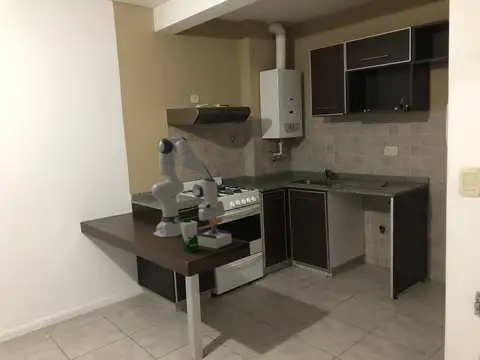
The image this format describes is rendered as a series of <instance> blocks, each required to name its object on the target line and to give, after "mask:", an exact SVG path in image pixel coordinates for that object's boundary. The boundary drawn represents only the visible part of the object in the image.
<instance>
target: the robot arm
mask: <svg viewBox="0 0 480 360" xmlns="http://www.w3.org/2000/svg"><path fill="white" fill-rule="evenodd" d="M157 148H158V151H159V153H158V169H159V174H160V175H161V176H163V177H164V179H165V181H162V182H161V181H160V182H157V183H155V184H153V185H152V187H151V194H152V196H153V197H154V198H156V199H157V200H158V201H159V203H160V206H161V211H162V216H161V221H160V222H159V223H158V224H157V226H156V231H155V232H153V235H155V236H156V237H160V238H171V237H172V238H173V237H177V236H180V235H182V227H181V221H180V214H179V208H178V204H177V202H176V201H174V200H172V197H173V196H177V195H180V194H181V193H183V192H184V189H185V185H184V183H183V181H182V180H181V179H179V177H178V175H177V173H176V160H175V155H176V156H177V159H178V161H179V163H180V165H181V166H182V167H183V168H185V169H189V170H192V171H196V172H197V173H198V174H200V177H201V178H202V179H203V180H202V181H200V182H198V183H195V184H194V185H193V186H192V194H193V197H195V198H197V199H201V198H202V199H203V201H202V202H201V203H200V204H198V209H199V210H198V219H199V221H202V222H205V221H208V222H210V220H214V219H217V218H220V217H222V216H225V213H226V212H225V206H224V202H223V201H221V200H220V201H219V197H218V192H219V191H220V189H219V188H220V187H219V184H218V183H217V181H216V179H214V178H213V176H212V175H211V173H210V171H209V169H208V168H207V166H206V165H205V163H204V162H203V161H202V160H200V159H199V158H198V157H197V154H195V151H194V150H193V147H192V145H191V144H190V143H189V142H188V139H187V138H186V137H183V136H173V137H168V138H161V139H159V141H158V143H157Z"/></svg>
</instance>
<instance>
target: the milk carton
mask: <svg viewBox="0 0 480 360" xmlns="http://www.w3.org/2000/svg"><path fill="white" fill-rule="evenodd" d="M180 223H181V228H182V234H181V235H182V245H183V251H184V252H186V253H189V254H191V253H195V252H197V251H200V245H198V235H197V233H198V222H197V221H195V220H192V219H191V218H190V217H184V218H183V221H182V222H181V221H180Z"/></svg>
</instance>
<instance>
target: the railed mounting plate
mask: <svg viewBox="0 0 480 360" xmlns="http://www.w3.org/2000/svg"><path fill="white" fill-rule="evenodd" d="M210 230H212V228H211V229H210ZM218 233H224V234H231V233H230V231H228V230H224V229H222V230H221V229H218ZM197 235H198V236H202V237H208V238H213V239H216V236H213V235H207V234H202V233H201V232H197Z"/></svg>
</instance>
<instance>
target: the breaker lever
mask: <svg viewBox="0 0 480 360" xmlns="http://www.w3.org/2000/svg"><path fill="white" fill-rule="evenodd" d="M216 218H217V219H214V220H213V219H212V220H210V221H209V225H210V226H212V228H211V229H212V235H213V234H215V233H216V228H217V227H218V224H220V223H223V222H224V218H223V217H222V216H219V217H216Z"/></svg>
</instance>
